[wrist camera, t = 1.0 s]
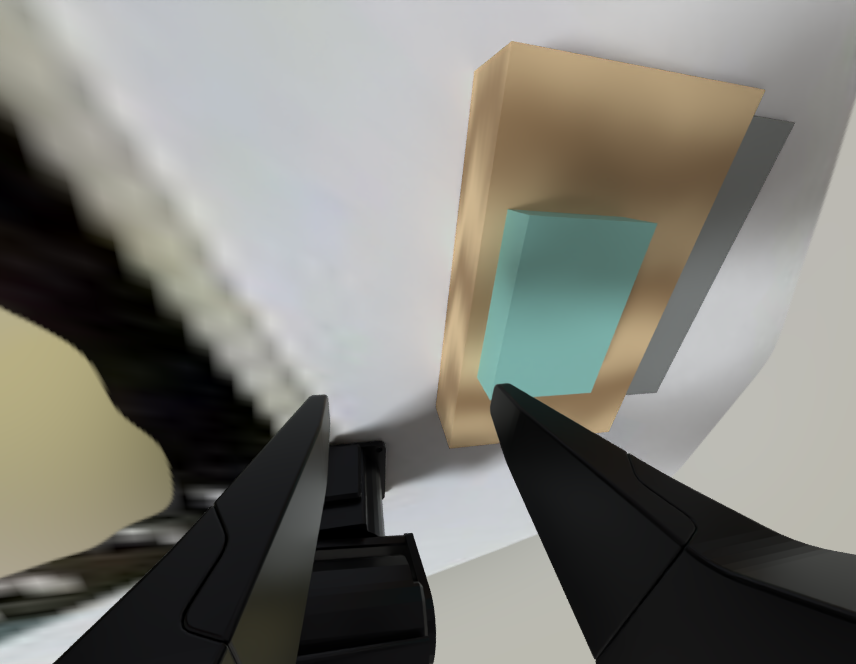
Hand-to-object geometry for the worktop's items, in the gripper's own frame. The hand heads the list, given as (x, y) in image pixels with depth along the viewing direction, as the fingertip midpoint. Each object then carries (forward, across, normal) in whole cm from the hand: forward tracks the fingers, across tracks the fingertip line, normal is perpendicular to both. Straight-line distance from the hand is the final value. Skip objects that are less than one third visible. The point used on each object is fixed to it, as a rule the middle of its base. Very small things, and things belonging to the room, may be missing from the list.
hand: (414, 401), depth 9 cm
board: (+11, -10, 0) cm, 15 cm away
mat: (+11, -20, 0) cm, 23 cm away
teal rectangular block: (+7, -8, 0) cm, 11 cm away
